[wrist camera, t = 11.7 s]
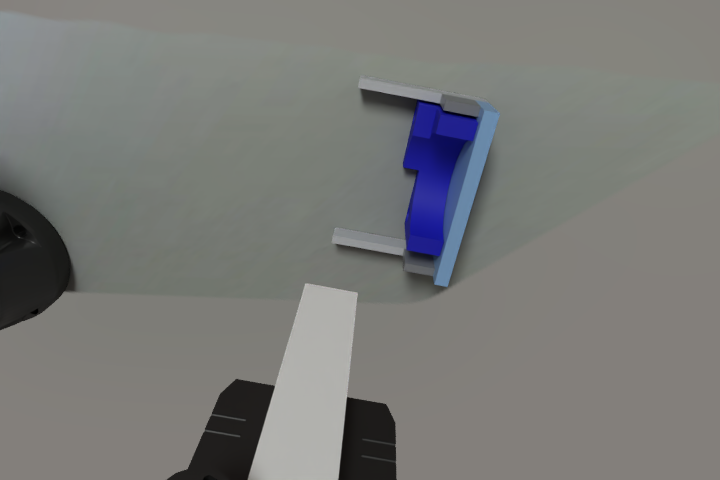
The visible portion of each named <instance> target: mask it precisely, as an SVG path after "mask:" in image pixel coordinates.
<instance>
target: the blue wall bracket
mask: <svg viewBox="0 0 720 480" xmlns="http://www.w3.org/2000/svg"><path fill="white" fill-rule="evenodd" d="M358 88H362V89H367V90H373V91H378V92H383V93H388V94H393V95H399V96H404V97H409V98H414V99H419V100H425V101H430V102H435V103H440V105H441V107H442V109H443V110H445V111H450V112H455V113H460V114H466V115H471V116H474V117H475V119H476V120H477V121H478V126H477V129H476V133H475V136H474V139H473V141H469V140H468V141H467V142H466V143H465V144H464V146H463V148H462V149H461V151H460V154H459V156H458V158H457V161H456V164H455V167H454V170H453V173H452V176H451V180H450V184H449V188H448V193H447V198H446V204H445V210H444V219H443V239H444V243H443V246H442V250H441V253H440V256H436V255H430V254H425V253H420V252H414V251H409V250H406V240H403V239H398V238H392V237H387V236H381V235H376V234H370V233H365V232H359V231H354V230H349V229H343V228H338V227H335V230H334V234H333V239H332V243H336V244H341V245H347V246H352V247H358V248H363V249H368V250H374V251H379V252H385V253H390V254H396V255H401V256H402V259H403V271H407V272H413V273H418V274H424V275H429V276H433V280H434V285H439V286H445V287H448V283H449V280H450V277H451V274H452V270H453V267H454V264H455V260H456V257H457V254H458V250H459V247H460V244H461V241H462V237H463V234H464V231H465V227H466V224H467V221H468V217H469V214H470V211H471V207H472V204H473V201H474V198H475V194H476V191H477V188H478V184H479V181H480V178H481V174H482V171H483V168H484V165H485V161H486V158H487V155H488V151H489V148H490V145H491V141H492V138H493V135H494V132H495V128H496V125H497V122H498V118H499V115H500V113H499V112H498V111H497V110H496V109H495V108H494V107H493V106H492V105H491V104H489V103H488V102H487V101H486V100H485V99H483V98H478V97H473V96H468V95H463V94H457V93H452V92H447V91H442V90H437V89H432V88H426V87H421V86H416V85H411V84H406V83H401V82H395V81H390V80H385V79H380V78H375V77H369V76H364V75H361V76H360V80H359V85H358Z"/></svg>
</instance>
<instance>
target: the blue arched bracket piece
mask: <svg viewBox="0 0 720 480" xmlns="http://www.w3.org/2000/svg"><path fill="white" fill-rule="evenodd" d="M477 126H478V121H477V120H476V119H475V117H474V116H471V115H466V114H460V113H455V112H450V111H445V110H443V109H442V107H441V105H440V103H435V102H430V101H425V100H419V99H417V104H416V108H415V112H414V117H413V121H412V126H411V130H410V134H409V139H408V143H407V148H406V152H405V156H404V161H403V167H404V168H409V169H415V170H418V171H417V175H416V179H415V183H414V187H413V191H412V195H411V199H410V203H409V207H408V212H407V216H406V220H405V236H406V250H409V251H414V252H420V253H425V254H430V255H436V256H440V253H441V250H442V246H443V243H444V239H443V219H444V210H445V204H446V198H447V193H448V188H449V184H450V180H451V176H452V173H453V170H454V167H455V164H456V161H457V158H458V156H459V154H460V151H461V149H462V148H463V146H464V144H465V143H466V142H467V141H468V140H469V141H473V139H474V136H475V133H476V129H477Z"/></svg>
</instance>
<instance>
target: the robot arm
mask: <svg viewBox="0 0 720 480" xmlns="http://www.w3.org/2000/svg"><path fill="white" fill-rule="evenodd" d="M69 270H70V269H69V260H68V256H67V252H66V250H65V247H64V245H63V243H62V241H61V239H60V237H59V236H58V234H57V232H56V231H55V230H54V228H53V227H52V226H51V224H50V223H49V222H48V221H47V220H46V219H45V218H44V217H43V216H42V215H41V214H40V213H39V212H38V211H36V210H35V209H34V208H33V207H31V206H30V205H29V204H27V203H26V202H24V201H22V200H21V199H19V198H17V197H15V196H13V195H11V194H9V193H7V192H4V191H1V190H0V330H2V329H4V328H7V327H10V326H12V325H15V324H17V323H19V322H21V321H25V320H27V319H30V318H33V317H35V316H37V315H38V314H40V313H42V312H43V311H44V310H45V309H47V308H48V307H49V306H50V305H51V304H53V303H54V302H55V301H56V300H57V299H58V298H59V297H60V296H61V295H62V293H63V292H64V290H65V288H66V286H67V283H68V280H69ZM357 294H358V293H356V292H351V291H345V290H340V289H334V288H329V287H323V286H318V285H312V284H307V283H306V284H305V287H304V290H303V294H302V297H301V301H300V304H299V308H298V311H297V314H296V318H295V321H294V324H293V328H292V331H291V335H290V338H289V341H288V345H287V348H286V351H285V355H284V358H283V362H282V365H281V369H280V372H279V375H278V378H277V382H276V385H275V386H273V385H267V384H261V383H255V382H250V381H244V380H238V379H236V380H235V381H234V382H233V383H231V384H230V385H229V386H228V387H227V388H226V389H225V390H224V391H223V392H222V393H221V394H220V395H219V398H218V400H217V402H216V405H215V407H214V409H213V412H212V415H211V417H210V419H209V421H208V423H207V426H206V428H205V432H204V433H203V435H202V437H201V439H200V442H199V444H198V447H197V449H196V451H195V453H194V456H193V458H192V460H191V463H190V465H189V467H188V469H187V470H184V471H181V472H178V473H175V474H174V475H173V476H171V477H170V478H168V479H167V480H396V447H395V444H396V438H395V437H396V434H395V422H394V419H393V417H392V415H391V413H390V411H389V409H388V407H387V405H386V404H383V403H377V402H371V401H366V400H359V399H354V398H349V397H347V391H348V381H349V371H350V362H351V361H350V360H351V352H352V342H353V333H354V323H355V313H356V304H357Z"/></svg>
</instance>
